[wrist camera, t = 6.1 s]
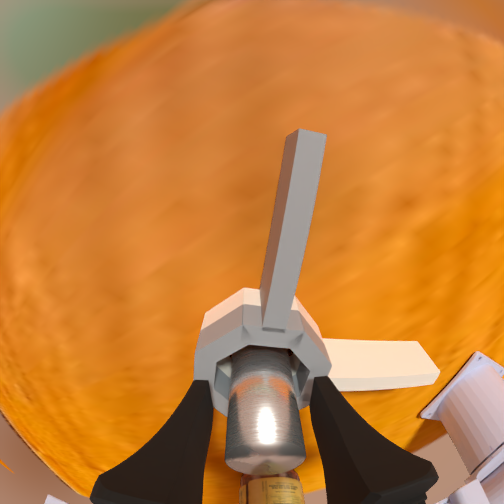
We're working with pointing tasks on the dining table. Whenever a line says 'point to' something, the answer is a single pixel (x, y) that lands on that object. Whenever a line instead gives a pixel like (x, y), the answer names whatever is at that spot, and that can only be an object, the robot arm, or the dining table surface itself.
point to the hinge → (298, 306)
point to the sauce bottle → (271, 489)
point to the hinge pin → (263, 413)
